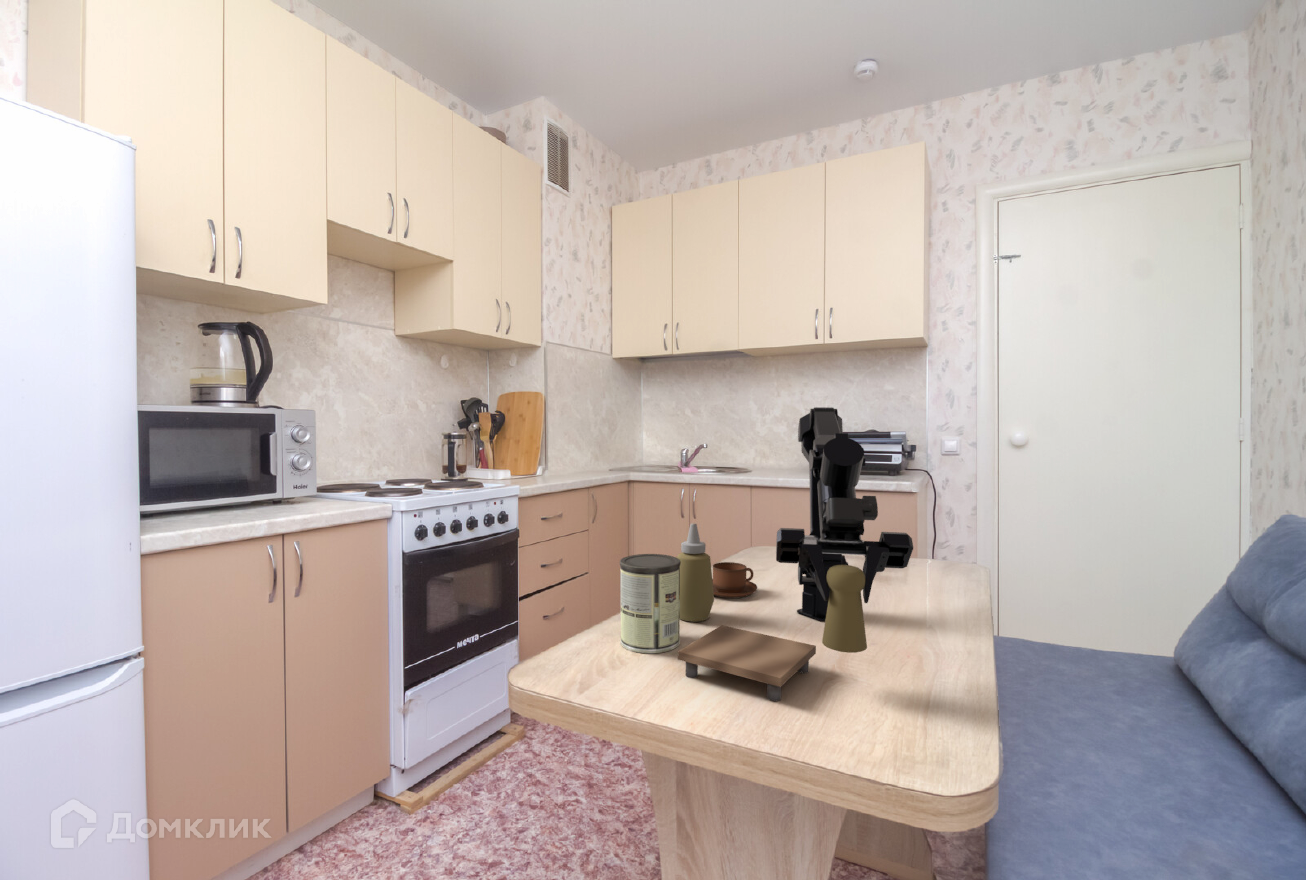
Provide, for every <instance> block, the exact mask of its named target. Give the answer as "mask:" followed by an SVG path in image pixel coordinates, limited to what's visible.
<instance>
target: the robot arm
mask: <svg viewBox="0 0 1306 880" xmlns="http://www.w3.org/2000/svg"><path fill="white" fill-rule="evenodd" d="M798 421H799V422H798V429H797V441H798V443H801V444H800V446H801V450H800V451H801V453H802V455H803V456H804V458H805V459H806V460H807V462H808V466H809V471H808V472H809V520H810V521H809V525H810V527H809V530H810V531H809V532H810V533H809V535H808V534H805V529H804V528H794V527H793V528H789V527H780V528H779V529H778V530H777V531H776V541H775V542H776V548H775V550H776V551H775V554H776V555H775V560H776V562H778V563H779V564H781V563H782V564H798V565H797V581H798V585H800V586H803V589H802V592H801V595H802V596H801V597H802V598H801V608H799V609H796V613H798V614H800V615H802V616H806V617H808V618H811V619H814V620H817V621H820V622H823V621H824V622H825V620H826V614H827V607H828V601H829V594H830V588H829V586H828V585H827V581H826V576H827V571H828V570H829V568H830V567H832V566H835V565H849V562H848V561H847V559H846V557H845V555H855V556H864V558H865V559H864V562H863V567H862V571H863V573H864V575H865V586H864V588H863V590H862V596H863V602H864V604H868V603H869V600H870V599H869V598H870V595H871V591H872V587H873V582H874V580H875V577H876V574H877V573H883V572H885V570H886V569H905V568H907V567H908V565H909V562H910V559H911V557H912V553H913V551H914V544H913V538H912V537H911V536H910V535H909V534H908V533H907V532H901V531H900V532H897V531H881V532H880V535H879V536H880V537H879V540H878V541H873V540H871V541H870V540H863V539H862V536H864V533H865V526H864V523H865V521H875V520H876V519H877V518H878V515H879V512H878V511H879V508H878V500H877V497H876V495H862V498H859V497H857V492H856V486H857V485H858V484H859V481H860V477H861V471H862V470H863V467H866V457H865V449H864V447H863V446H862V445H861V444H860V443H859V442H857V441H856V440H854V439H852V438H849V433H846V432H843V430H844V429H843V428H844V427H843V418H842V417H840V416H839V412H838V409H837V408H834V406H833V407H832V406H831V407H824V406H823V407H813V408H810V409H809V412H808V413H807V414H804V415H803V416H802V417H800V418H799V420H798Z"/></svg>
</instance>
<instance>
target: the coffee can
mask: <svg viewBox="0 0 1306 880" xmlns="http://www.w3.org/2000/svg"><path fill="white" fill-rule="evenodd" d="M676 557H677V556H676ZM676 557H675V556H672V555H668V554H660V553H641V554H640V553H639V554H633V555H632V554H631V555H628V556H625V557H623V558H621V559H620V560H619V566H620V640H619V641H620V643H619V644H620V645H621V646H622V647H623V648H624V649H626V650H628V651H631V652H635V653H640V654H661V653H665V652H670V651H673V650H674V649H676V648H677V647H678V646H679V645H680V643H681V641H680V630H681V629H680V615H679V611H680V564H681V561H680V559H678V558H676Z"/></svg>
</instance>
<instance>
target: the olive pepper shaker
mask: <svg viewBox="0 0 1306 880" xmlns="http://www.w3.org/2000/svg"><path fill="white" fill-rule="evenodd" d="M826 581H827V585H828V586H829V588H830V594H829V601H828V607H827V614H826V620H825V621H824V628H823V633H822V641H821V643H822V645H823V646H824V647H826V648H828V649H829V650H833V651H837V652H840V653H850V654H851V653H860V652H861V653H862V652H864V651H866V650H867V648H868V645H867V644H868V643H867V636H866V628H865V617H864V610H863V608H864V607H863V599H862V592H863V588H864V586H865V575H864V573H863V569H861V568H859V567H858V566H855V565H849V564H848V565H835V566H832V567H830V568H829V570H828V571H827V576H826Z"/></svg>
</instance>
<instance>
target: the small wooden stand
mask: <svg viewBox="0 0 1306 880" xmlns="http://www.w3.org/2000/svg"><path fill="white" fill-rule="evenodd" d="M816 647H817V645H813V644H809V643H805V642H800V641H796V640H791V639H787V638H783V637H777V636H773V635H770V634H765V633H760V632H755V631H752V630H751V631H750V630H746V629H741V628H738V627H737V628H736V627H732V626H727V625H723V624H721V625H720V626H717V627H716V628H715V629H713V630H711V631H709V632H708V633H706V634H705V635H702V636H701V637H699V638H698V639H697V640H695V641H693V642H691V643H690V644H688V645H686V646H685V647H683V648H681V649H679V650H678V651H677V660H678V661H682V662H685V677H686V678H690V679H691V678H694V679H695V678H696V677H698V675H699V671H698V670H699V669H698V668H699V666H701V667H703V668H704V667H705V668H708V669H712V670H715V671H720V672H723V673H727V674H731V675H734V676H738V677H742V678H746V679H748V680H749V679H750V680H752V681H757V682H760V683H764V684H767V686H766V687H767V690H766V692H767V693H766V697H767V698H766V699H767V700H769V701H771V702H779V701H781V698H782V686H783V685H784V684H785V683H786V682H787V681H789V679H790V678H791V677H793V676H794V674H796V673H800V674H807V673H809V672H810V671H809V670H810V669H809V667H810V666H809V665H810V664H809V663H810V660H811V659H812V658H813V657H814V656H815V655H816V653H817V652H816V651H817V650H816V649H817V648H816Z"/></svg>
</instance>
